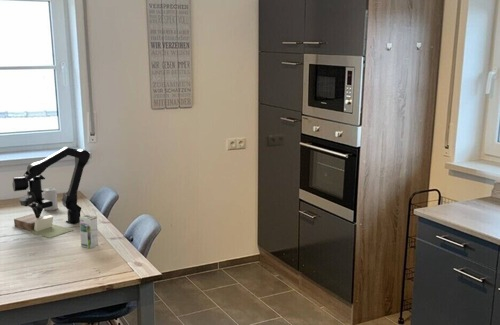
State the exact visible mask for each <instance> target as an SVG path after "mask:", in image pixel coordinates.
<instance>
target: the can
mask: <svg viewBox="0 0 500 325" xmlns="http://www.w3.org/2000/svg"><path fill="white" fill-rule="evenodd" d="M43 190H44V192H42V197H43V198H44V200H49V201H52V202H53V206H51V207H48V208H44V209H43V210H45V211H49V212H51V211H56V210H57V208H59V207H58V192H57V190H56V187H55V188H54V187H47V188H43ZM44 200H42V201H44Z"/></svg>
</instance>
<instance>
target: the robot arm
mask: <svg viewBox="0 0 500 325" xmlns="http://www.w3.org/2000/svg"><path fill="white" fill-rule="evenodd" d="M67 156H70V157H74V168H73V172H72V174H71V175H72V176H71V180H70V182H69V183H70V184H69V188H68V190H67V192H66V193H63V194H62V199H61V204H62V205H63V207H65V208H66V210H67V220H66V221H65V222H66V223H67V224H73V225H74V224H75V225H76V224H77V223H78V224H79V223H80V217H81V211H82V206H80V205H79V204H78V190H79V187H80V183H81V179H82V176H83V172H84V168H85V166H86V165H87V164H88V162H89V160H90V158H91V154H90V152H89V151H87V150H86V149H83V148H78V149H77V148H74V147H73V148H72V147H68V146H63V148H61V149H60V150H58V151H56V152H54V153H52V154H51V155H49V156H47V157H45V158H44V159H42V160H38V161H34V162H32V163H29V164H28V165H27V167H26V171H25V172H24V174H23V176H20V177H16V176H15V177H12V189H13V192H22V191H27V190H28V191H27V194H26V195H24V196H22V197H21V198H19V199H18V201H19V203H20V205H21V206H23V207H30V208H31V210H32V211H33V214H35V216H36V218H39V217H40V216H42V212H43V210H45V209H44V208H48V207H51V206H53V202H52V201H49V200H44V198H43V192H44V189H43V188H42V180H45V179H46V177H44V176H43V175H42V174H43V173H44V172H45V170H46V169H47V168H49V167H51V166H52V165H54V164H56V163H57V162H59V161H61V160H63V159H64V158H66V157H67ZM43 200H44V201H43Z"/></svg>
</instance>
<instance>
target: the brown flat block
mask: <svg viewBox="0 0 500 325" xmlns="http://www.w3.org/2000/svg"><path fill="white" fill-rule="evenodd" d="M42 217H44V216H43V215H40V217H39V218H42ZM35 219H38V218H36V216H35V214H34V213H31V214H27V215H24V216H21V217H20V216H19V217H16V218H13V223H14V227H15V228H19V229H22V230H26V231H28V230H29V231H32V230H34V227H35ZM29 231H28V232H29Z"/></svg>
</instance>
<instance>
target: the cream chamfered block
mask: <svg viewBox="0 0 500 325" xmlns="http://www.w3.org/2000/svg"><path fill="white" fill-rule="evenodd" d="M53 221H54V216H53V215H51V214H49V215H45V216H43V217H42V218H38V219H35V227H34V230H35V231H40V230H43V229H46V228H50V227H52V224H53Z"/></svg>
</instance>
